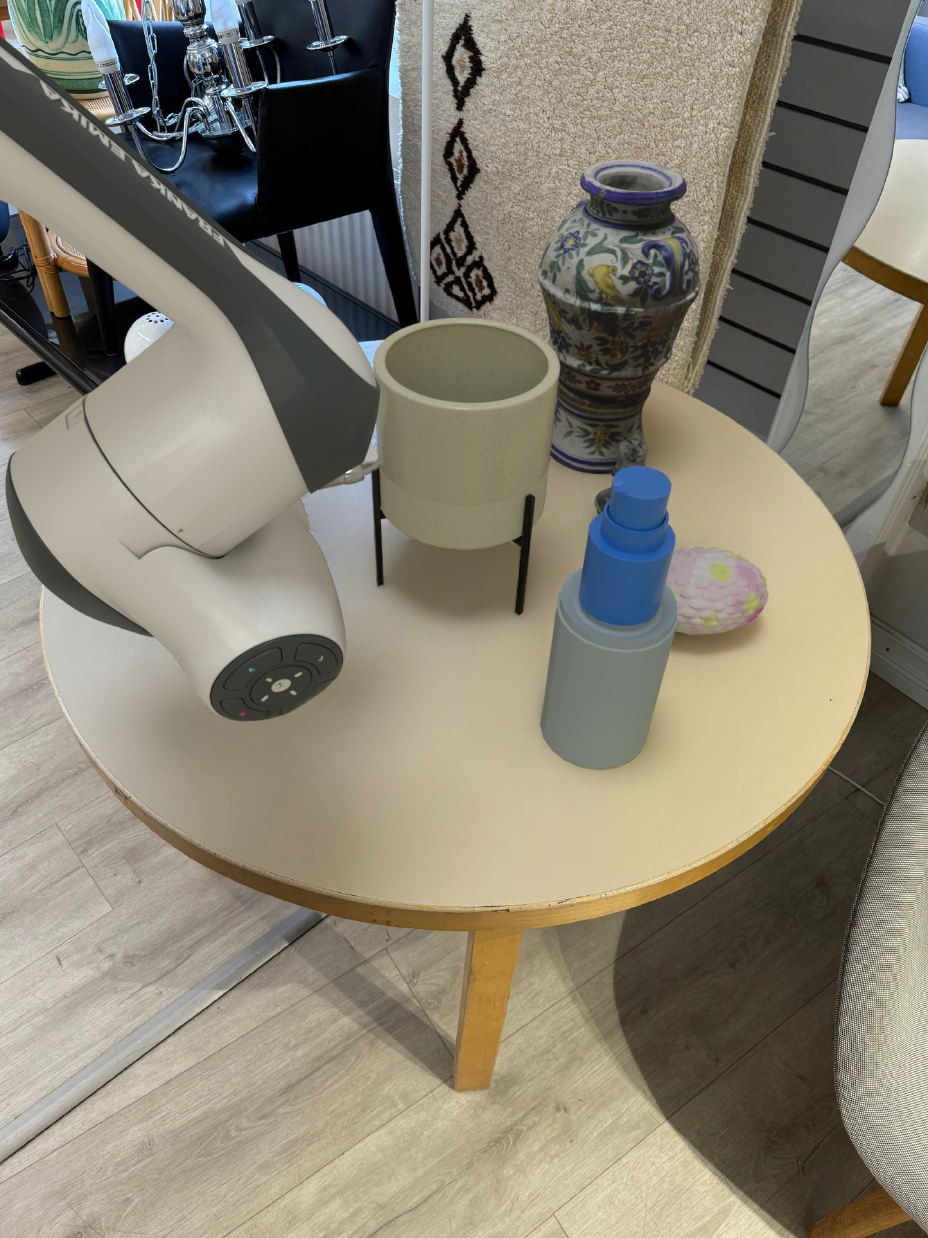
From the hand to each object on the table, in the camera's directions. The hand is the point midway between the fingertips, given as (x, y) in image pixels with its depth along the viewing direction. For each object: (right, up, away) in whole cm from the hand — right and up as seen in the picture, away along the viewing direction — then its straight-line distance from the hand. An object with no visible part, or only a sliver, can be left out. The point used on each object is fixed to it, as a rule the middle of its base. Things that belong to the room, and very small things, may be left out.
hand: (192, 393), depth 65 cm
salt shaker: (+36, -7, +30) cm, 47 cm away
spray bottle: (+30, -25, +11) cm, 41 cm away
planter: (+19, -12, +25) cm, 33 cm away
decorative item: (+41, -16, +21) cm, 49 cm away
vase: (+35, +4, +42) cm, 54 cm away
